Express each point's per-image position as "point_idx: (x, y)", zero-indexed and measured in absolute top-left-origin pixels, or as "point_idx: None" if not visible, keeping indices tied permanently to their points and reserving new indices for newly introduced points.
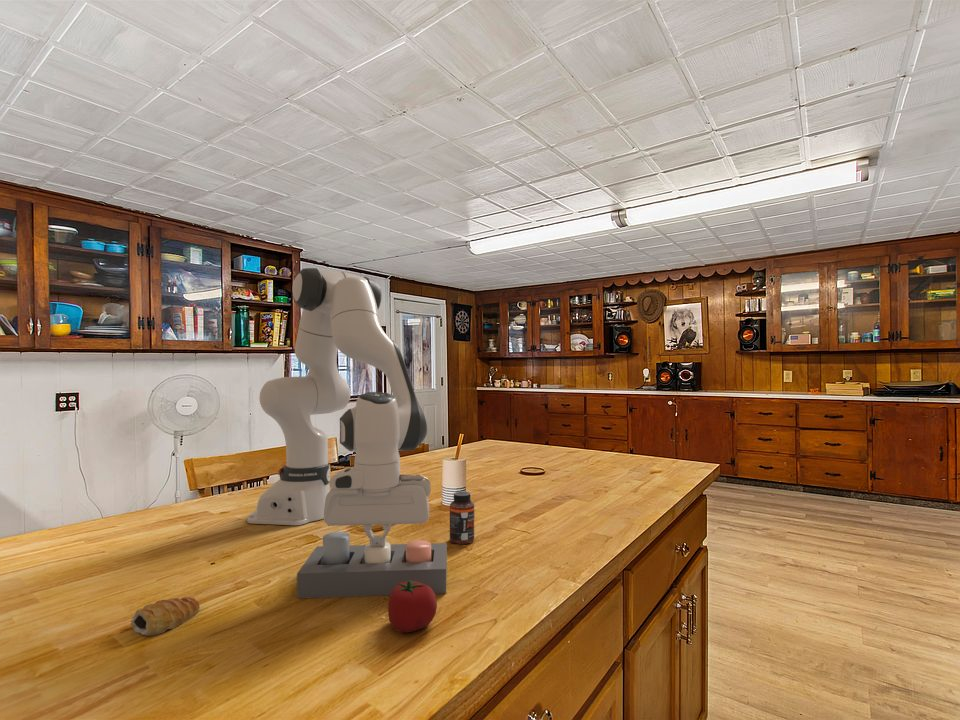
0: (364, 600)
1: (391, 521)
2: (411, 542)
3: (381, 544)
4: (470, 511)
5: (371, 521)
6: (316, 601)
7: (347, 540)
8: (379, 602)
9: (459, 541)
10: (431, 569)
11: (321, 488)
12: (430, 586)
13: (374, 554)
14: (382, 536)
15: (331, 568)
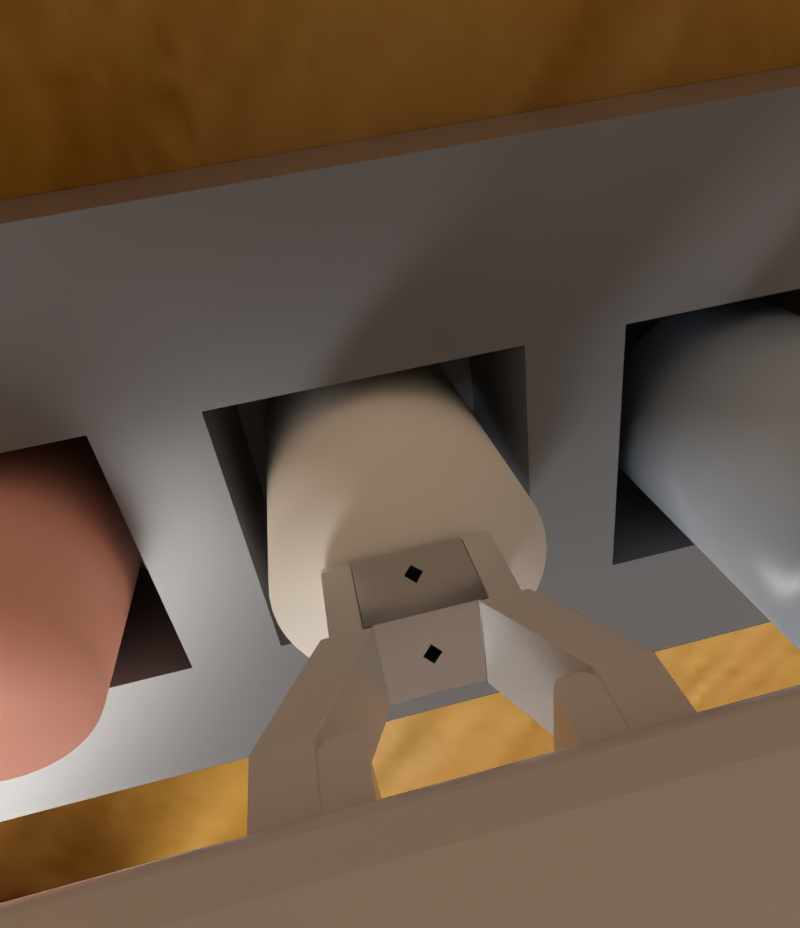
0: (348, 53)
1: (177, 906)
2: (69, 721)
3: (359, 574)
4: None
5: (607, 798)
6: (734, 6)
7: (773, 520)
8: (195, 18)
9: None
10: None
11: None
12: None
13: (397, 435)
14: (358, 646)
15: (776, 199)
